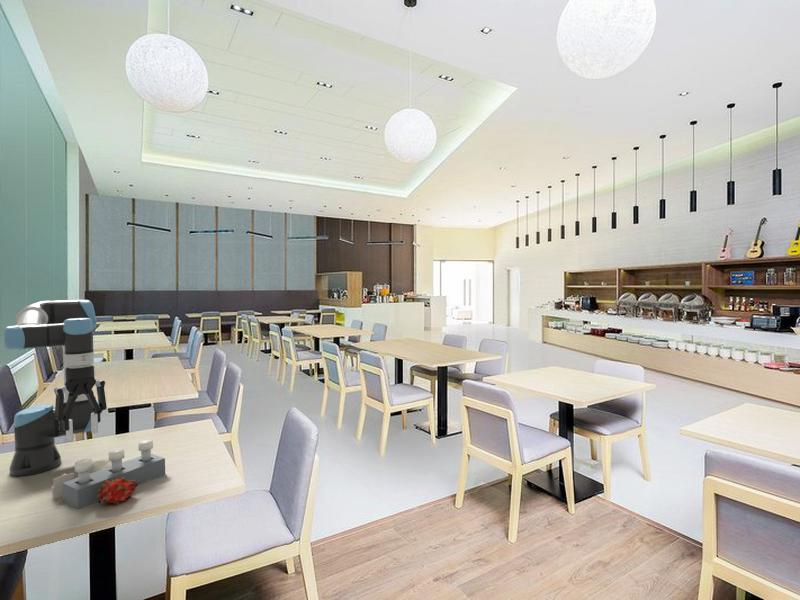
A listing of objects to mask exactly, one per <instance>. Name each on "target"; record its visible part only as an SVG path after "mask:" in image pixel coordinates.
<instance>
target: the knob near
mask: <svg viewBox="0 0 800 600" xmlns="http://www.w3.org/2000/svg"><path fill="white" fill-rule="evenodd" d="M92 469H93V459H92V458H84V459H80V460H77V461H76V462H74V473H77V478H78V483H79V485H82V484H85V483H88V482H90V472H91V471H90V470H92Z"/></svg>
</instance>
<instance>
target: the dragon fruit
mask: <svg viewBox="0 0 800 600" xmlns="http://www.w3.org/2000/svg"><path fill="white" fill-rule="evenodd" d="M105 482H106V484H103V485H101V487H100V488H99V489H98V490H97V495H96V496H97V498H100V499H101V500H99V501H98V504H107V505H112V504H114V505H119V503H120V502H123V501H126V502H127V501H128V500H130V499H131V498H132V494H133V493H134V492H135V490H136V489H137V488H138V486H139V485H138V483H137V482H136V481H135V480H125V478H124V477H121V478H120V479H117V478H115V479H113V480H111V481H105ZM136 483H137V484H136Z"/></svg>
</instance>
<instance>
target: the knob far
mask: <svg viewBox="0 0 800 600" xmlns="http://www.w3.org/2000/svg"><path fill="white" fill-rule="evenodd" d="M137 445H138V451H139V452H140V453H141V454H140V456H141V460H142V462H146V461H149V460H151V454H152V449H153V448H154V439H144V440H140V441H139V442H138V444H137Z"/></svg>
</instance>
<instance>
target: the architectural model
mask: <svg viewBox="0 0 800 600" xmlns="http://www.w3.org/2000/svg"><path fill="white" fill-rule="evenodd" d="M72 479H75V472H70V473H68V474H66V472H65V473H63V474H62V475H60V476H57V477H54V478H53V483H52V484H51V486H50V487H51V499H52V500H57V499H60V498H63V483H64V482H67V481H70V480H72Z"/></svg>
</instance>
